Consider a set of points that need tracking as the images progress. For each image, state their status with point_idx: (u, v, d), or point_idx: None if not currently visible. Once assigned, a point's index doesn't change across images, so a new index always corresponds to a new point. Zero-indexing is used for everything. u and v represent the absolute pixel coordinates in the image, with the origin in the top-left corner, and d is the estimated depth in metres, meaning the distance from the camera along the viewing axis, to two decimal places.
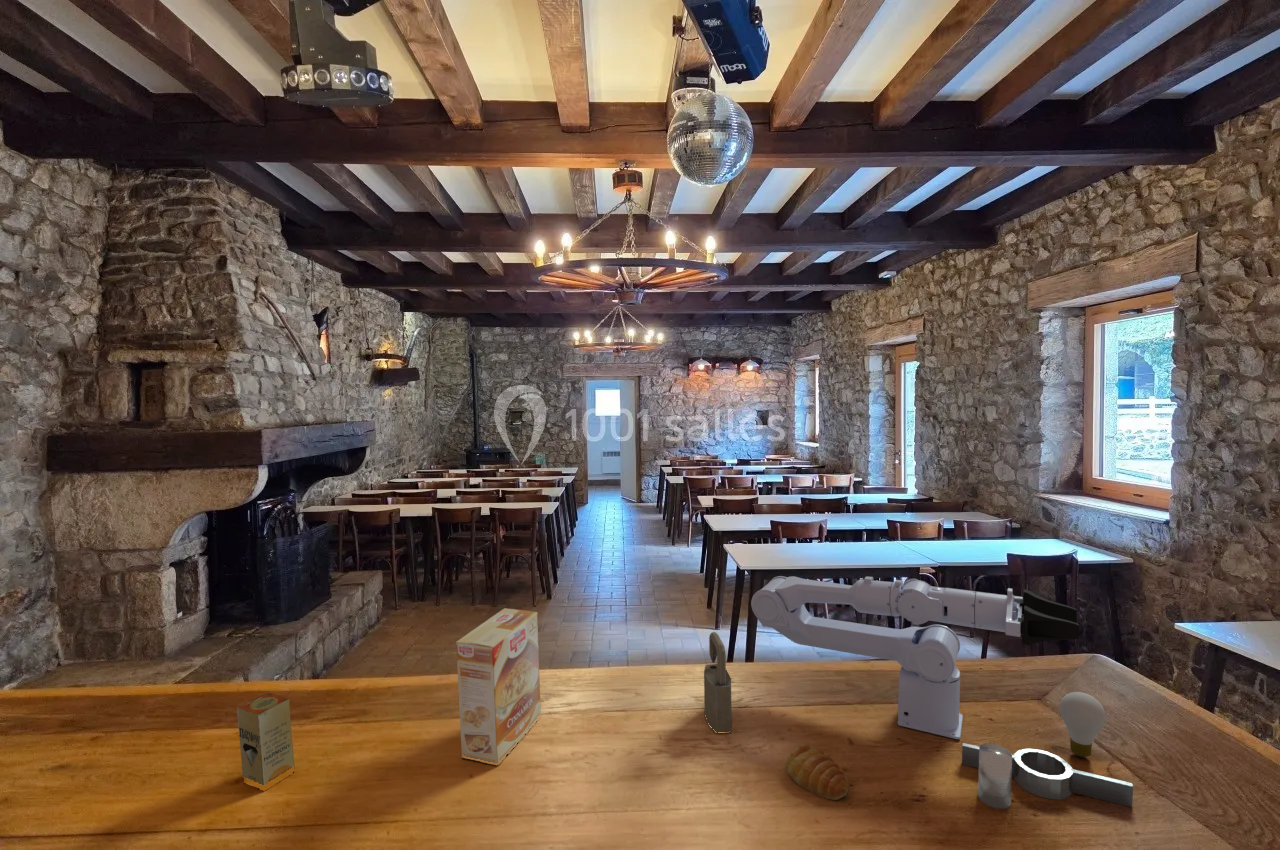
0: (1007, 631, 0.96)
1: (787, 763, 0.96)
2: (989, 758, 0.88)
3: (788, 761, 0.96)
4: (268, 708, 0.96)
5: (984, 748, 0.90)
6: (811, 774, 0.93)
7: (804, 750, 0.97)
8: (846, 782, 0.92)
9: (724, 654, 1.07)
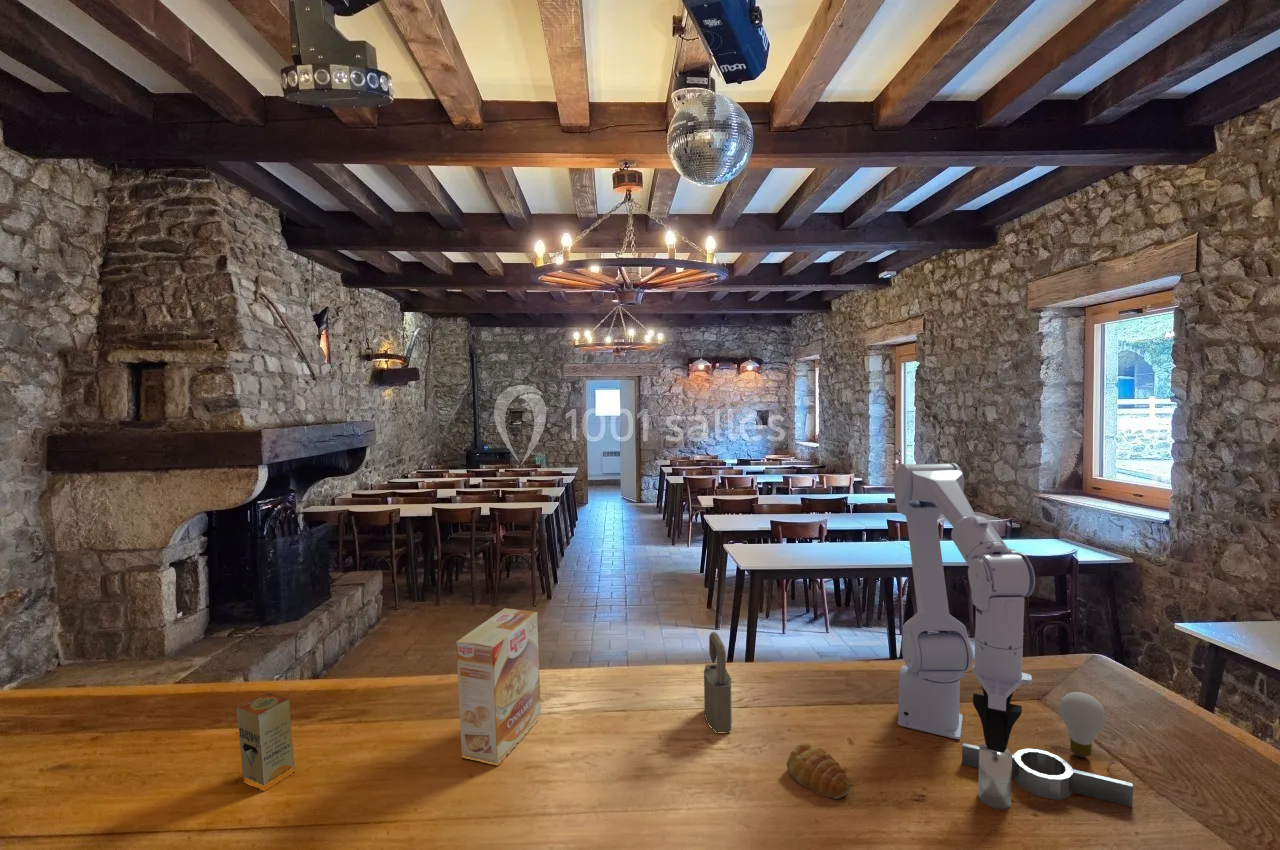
0: (993, 696, 0.82)
1: (788, 762, 0.97)
2: (989, 758, 0.88)
3: (789, 760, 0.97)
4: (268, 708, 0.96)
5: (984, 748, 0.90)
6: (813, 773, 0.93)
7: (805, 749, 0.97)
8: (847, 781, 0.92)
9: (724, 654, 1.07)
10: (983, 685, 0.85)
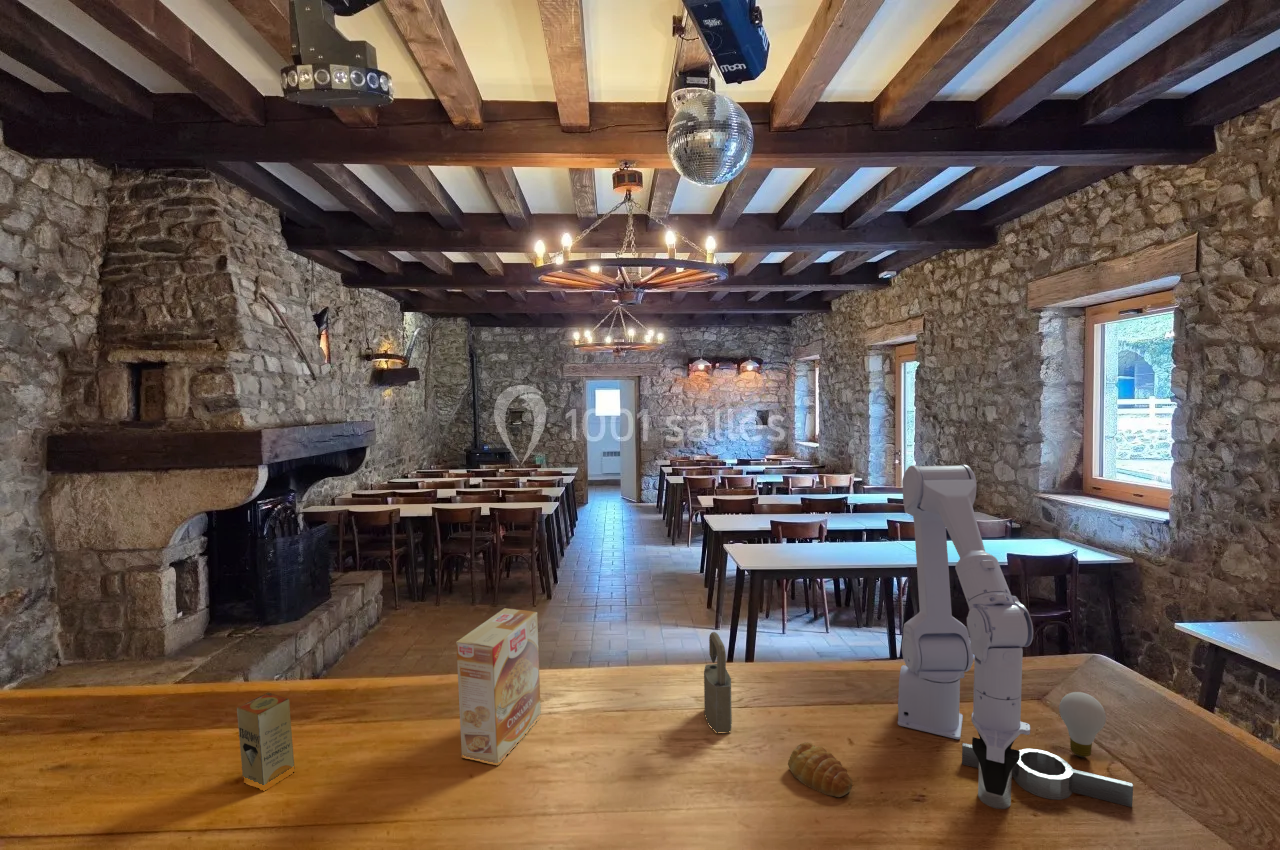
0: (991, 748, 0.83)
1: (790, 761, 0.97)
2: None
3: (791, 759, 0.97)
4: (268, 708, 0.96)
5: None
6: (814, 771, 0.93)
7: (806, 748, 0.98)
8: (849, 779, 0.92)
9: (724, 654, 1.07)
10: (982, 735, 0.86)
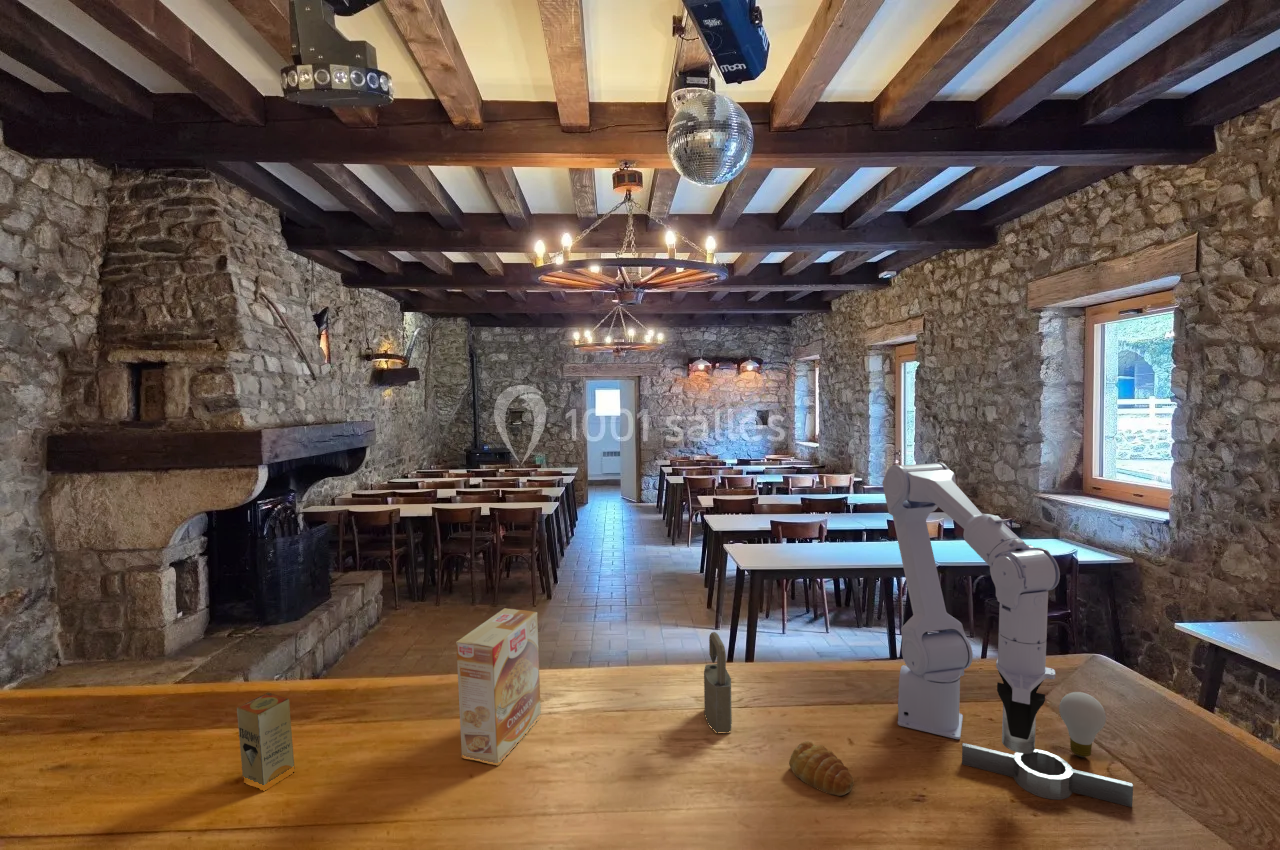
0: (1017, 690, 0.84)
1: (791, 761, 0.97)
2: None
3: (792, 759, 0.97)
4: (268, 708, 0.96)
5: None
6: (816, 771, 0.94)
7: (807, 747, 0.98)
8: (851, 777, 0.93)
9: (724, 654, 1.07)
10: (1007, 679, 0.87)
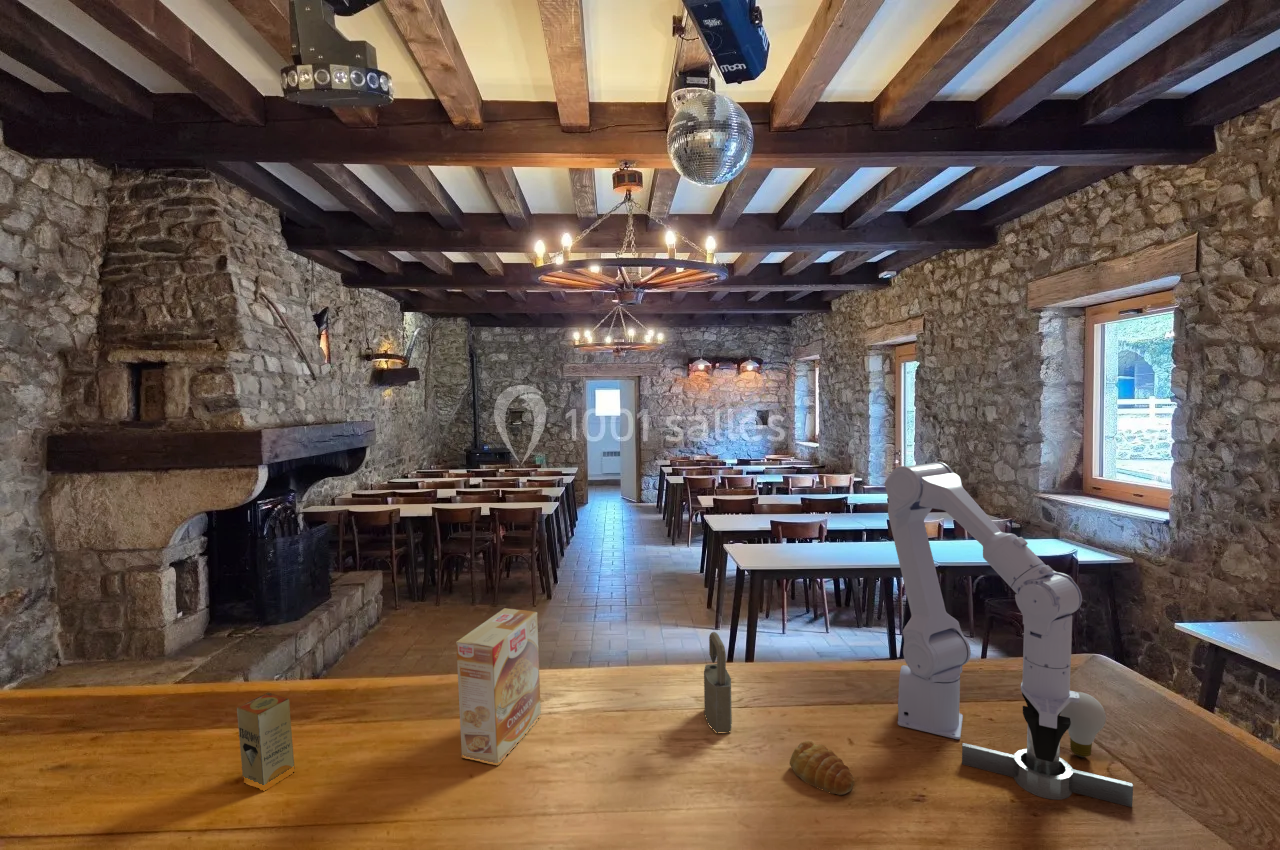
0: (1044, 714, 0.86)
1: (792, 760, 0.97)
2: None
3: (793, 758, 0.97)
4: (268, 708, 0.96)
5: None
6: (817, 770, 0.94)
7: (808, 747, 0.98)
8: (851, 776, 0.93)
9: (724, 654, 1.07)
10: (1033, 703, 0.89)
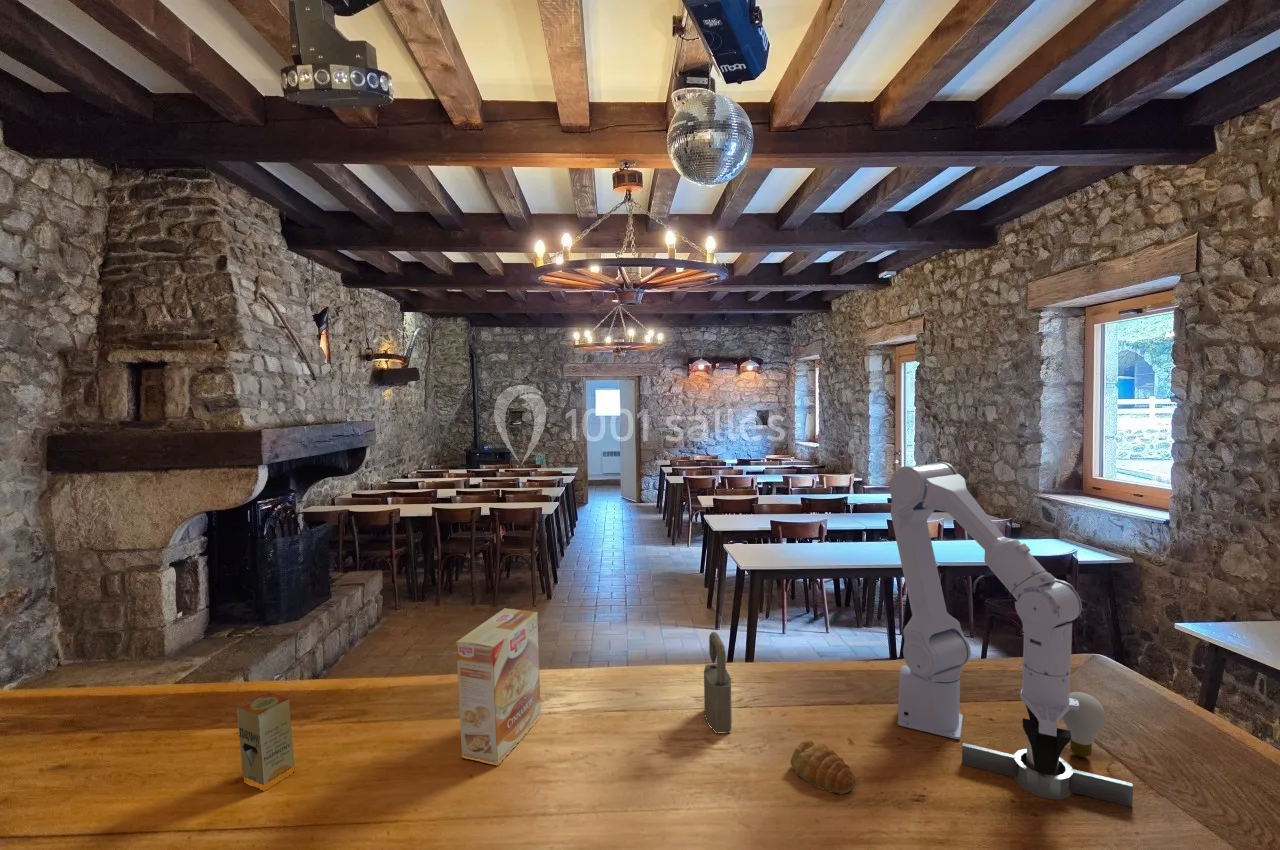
0: (1043, 722, 0.86)
1: (793, 759, 0.97)
2: None
3: (793, 757, 0.97)
4: (268, 708, 0.96)
5: None
6: (818, 769, 0.94)
7: (808, 746, 0.98)
8: (852, 775, 0.93)
9: (724, 654, 1.07)
10: (1033, 710, 0.89)
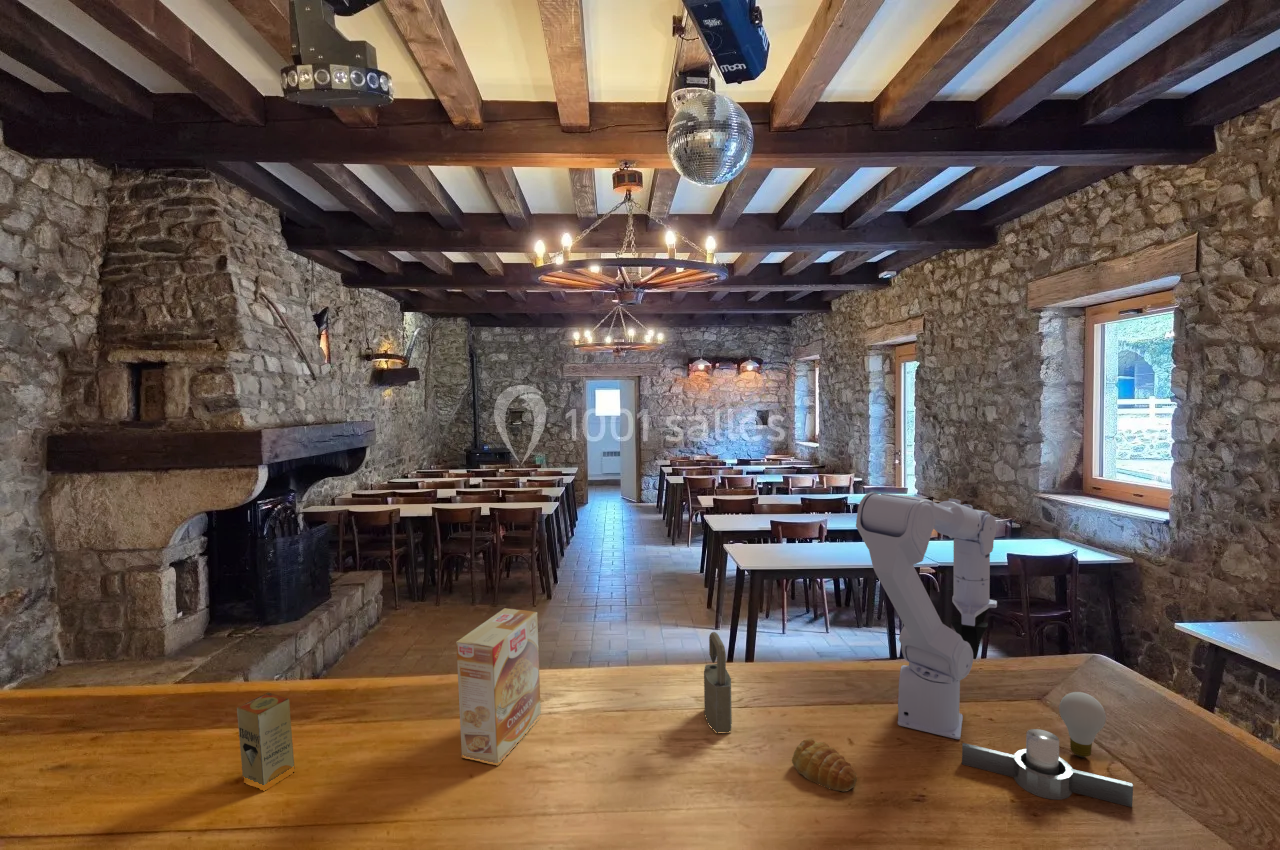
0: (965, 615, 1.09)
1: (794, 758, 0.98)
2: (1038, 743, 0.91)
3: (795, 756, 0.98)
4: (268, 708, 0.96)
5: (1031, 734, 0.93)
6: (820, 767, 0.94)
7: (810, 744, 0.99)
8: (854, 773, 0.94)
9: (724, 654, 1.07)
10: (958, 608, 1.12)
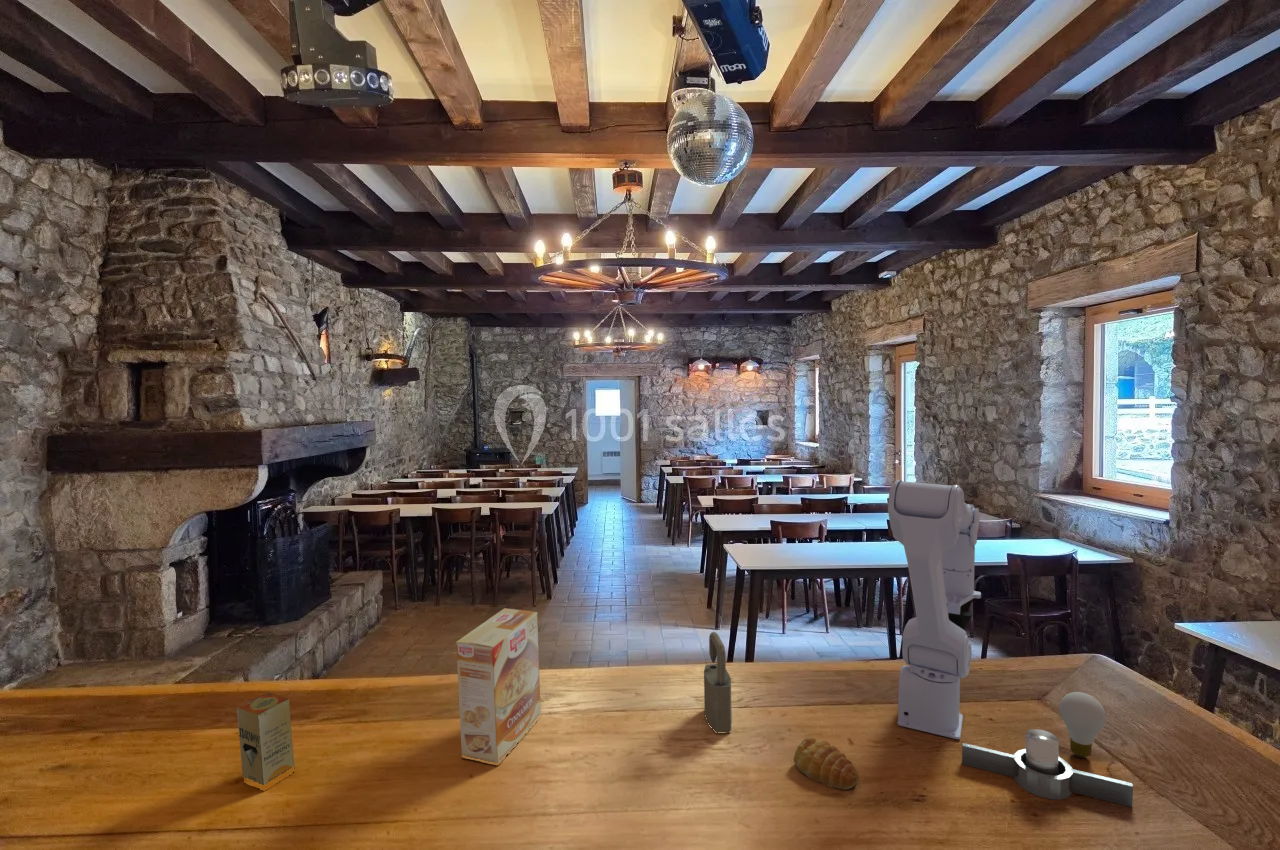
0: (950, 604, 1.14)
1: (795, 757, 0.98)
2: (1038, 744, 0.91)
3: (796, 755, 0.98)
4: (268, 708, 0.96)
5: (1030, 735, 0.93)
6: (822, 766, 0.95)
7: (811, 743, 0.99)
8: (856, 771, 0.94)
9: (724, 654, 1.07)
10: None
